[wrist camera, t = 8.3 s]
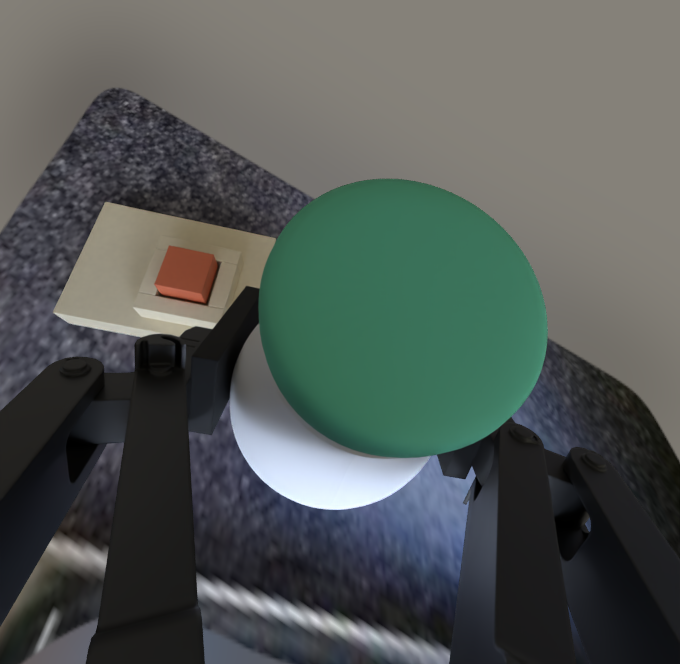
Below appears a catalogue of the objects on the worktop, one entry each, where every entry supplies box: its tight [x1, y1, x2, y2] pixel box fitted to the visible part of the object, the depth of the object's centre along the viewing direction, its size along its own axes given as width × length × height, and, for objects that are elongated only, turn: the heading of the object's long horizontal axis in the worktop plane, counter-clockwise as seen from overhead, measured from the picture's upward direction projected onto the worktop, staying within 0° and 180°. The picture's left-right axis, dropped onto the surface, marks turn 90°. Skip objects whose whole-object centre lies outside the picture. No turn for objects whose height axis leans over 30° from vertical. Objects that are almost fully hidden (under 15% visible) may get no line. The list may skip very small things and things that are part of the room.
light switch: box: [53, 202, 276, 337], centre depth 29 cm, size 14×10×4 cm
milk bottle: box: [230, 179, 548, 510], centre depth 15 cm, size 8×8×20 cm
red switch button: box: [154, 245, 218, 304], centre depth 27 cm, size 3×3×2 cm
